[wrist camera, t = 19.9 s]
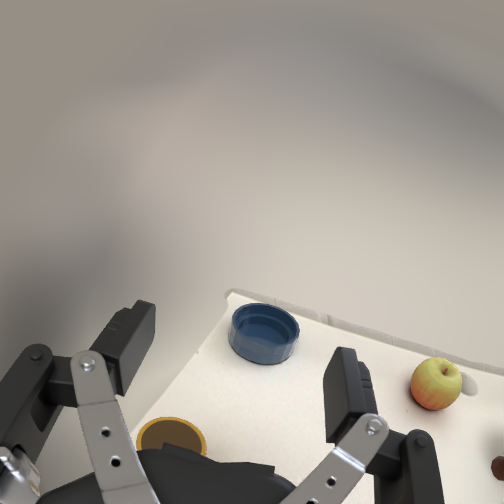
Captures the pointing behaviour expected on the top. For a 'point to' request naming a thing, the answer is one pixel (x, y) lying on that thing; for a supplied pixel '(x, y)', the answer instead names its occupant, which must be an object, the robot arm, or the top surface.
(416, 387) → the apple
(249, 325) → the bowl
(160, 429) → the cup
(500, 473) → the ice cream bowl
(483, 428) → the top surface
